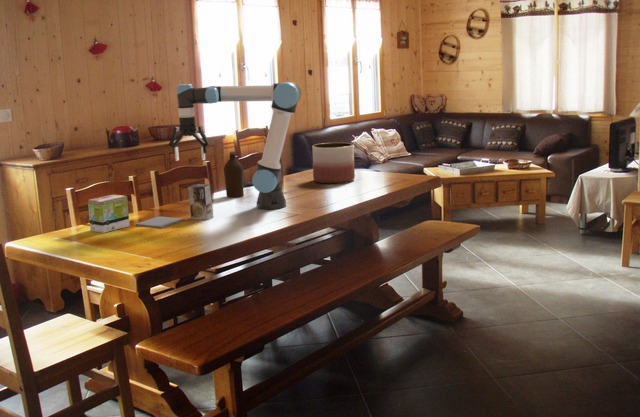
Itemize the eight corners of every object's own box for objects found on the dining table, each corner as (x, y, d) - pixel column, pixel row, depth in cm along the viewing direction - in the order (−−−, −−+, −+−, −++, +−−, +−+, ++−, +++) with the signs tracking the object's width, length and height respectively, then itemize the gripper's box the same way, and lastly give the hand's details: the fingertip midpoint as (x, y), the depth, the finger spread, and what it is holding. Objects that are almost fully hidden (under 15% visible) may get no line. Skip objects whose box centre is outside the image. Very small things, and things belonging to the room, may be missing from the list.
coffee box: (213, 217, 327) (211, 184, 324) (207, 220, 321) (204, 186, 318) (197, 216, 330) (194, 183, 327) (190, 219, 324) (187, 186, 321)
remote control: (225, 189, 401) (225, 185, 401) (268, 181, 422) (268, 178, 421) (233, 190, 396) (232, 187, 395) (275, 182, 416) (275, 179, 416)
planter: (355, 183, 400) (354, 146, 395) (312, 185, 401) (311, 148, 396) (354, 176, 425) (353, 141, 420) (313, 178, 425) (312, 143, 421)
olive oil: (232, 199, 369) (229, 153, 363) (222, 196, 377) (218, 152, 371) (248, 196, 375) (245, 151, 370) (238, 193, 383) (235, 149, 378)
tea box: (105, 233, 303) (101, 201, 300) (90, 231, 308) (86, 199, 305) (130, 226, 315) (127, 195, 312) (115, 224, 320) (112, 193, 317)
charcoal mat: (184, 220, 322) (184, 218, 322) (162, 228, 308) (161, 226, 308) (159, 217, 330) (158, 216, 329) (135, 225, 316) (135, 223, 316)
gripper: (214, 115, 327) (217, 158, 332) (165, 116, 332) (169, 159, 336) (208, 116, 320) (212, 160, 324) (159, 118, 324) (163, 161, 329)
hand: (190, 160), depth 330 cm, fingers open, 13 cm apart
